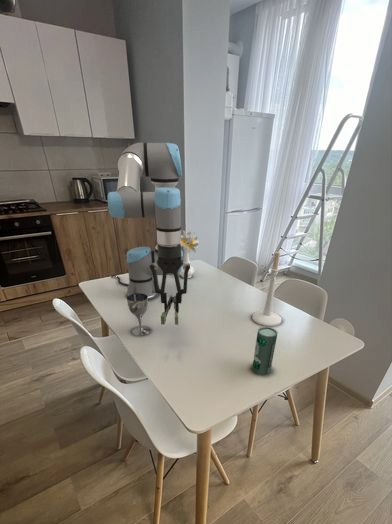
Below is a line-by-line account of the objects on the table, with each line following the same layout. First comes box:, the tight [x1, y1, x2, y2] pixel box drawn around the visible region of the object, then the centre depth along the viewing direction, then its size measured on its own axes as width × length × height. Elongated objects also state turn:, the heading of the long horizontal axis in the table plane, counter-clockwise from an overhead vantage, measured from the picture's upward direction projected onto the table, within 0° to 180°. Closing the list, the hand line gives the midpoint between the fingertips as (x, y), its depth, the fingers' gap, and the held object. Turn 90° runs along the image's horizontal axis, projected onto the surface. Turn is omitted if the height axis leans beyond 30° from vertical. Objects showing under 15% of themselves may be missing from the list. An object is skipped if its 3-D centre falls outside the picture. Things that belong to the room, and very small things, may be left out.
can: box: [251, 326, 279, 376], centre depth 98 cm, size 6×6×15 cm
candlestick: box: [251, 251, 282, 327], centre depth 125 cm, size 13×13×30 cm
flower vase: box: [178, 229, 200, 279], centre depth 169 cm, size 13×18×25 cm
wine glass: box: [126, 293, 151, 336], centre depth 119 cm, size 8×8×15 cm
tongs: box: [160, 294, 179, 326], centre depth 106 cm, size 19×6×3 cm, turn 0°
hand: (171, 311), depth 106 cm, fingers closed on tongs, 3 cm apart
